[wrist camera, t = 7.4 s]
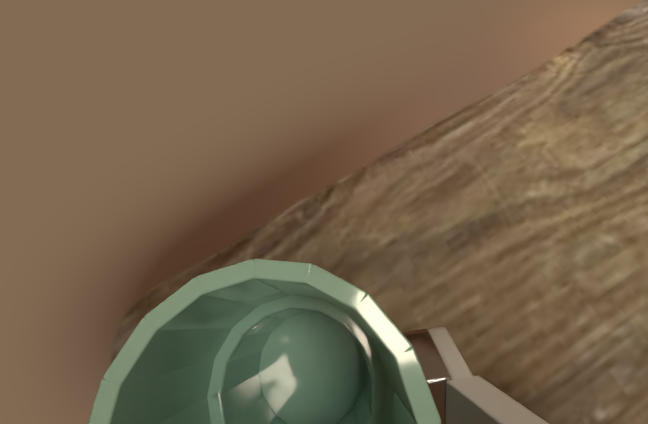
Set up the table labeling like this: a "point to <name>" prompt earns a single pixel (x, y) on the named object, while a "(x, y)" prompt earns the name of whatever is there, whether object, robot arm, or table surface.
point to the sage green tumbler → (266, 355)
